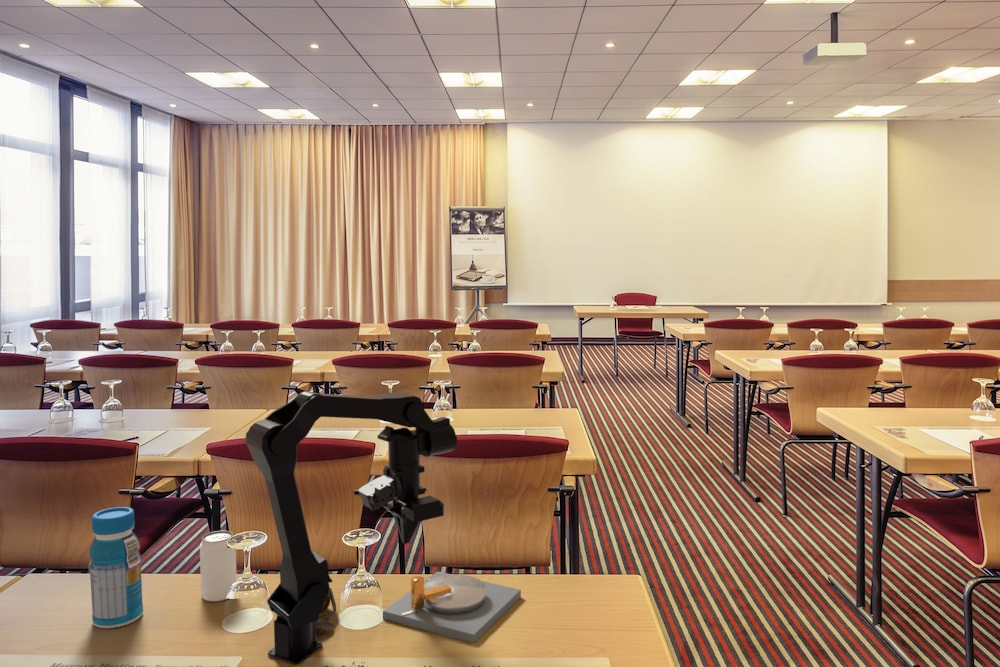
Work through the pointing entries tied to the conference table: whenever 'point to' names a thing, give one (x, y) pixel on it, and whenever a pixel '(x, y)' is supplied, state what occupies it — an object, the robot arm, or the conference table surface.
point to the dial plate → (455, 625)
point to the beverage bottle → (115, 569)
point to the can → (217, 566)
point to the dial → (448, 594)
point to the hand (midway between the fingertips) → (405, 543)
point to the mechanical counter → (323, 623)
